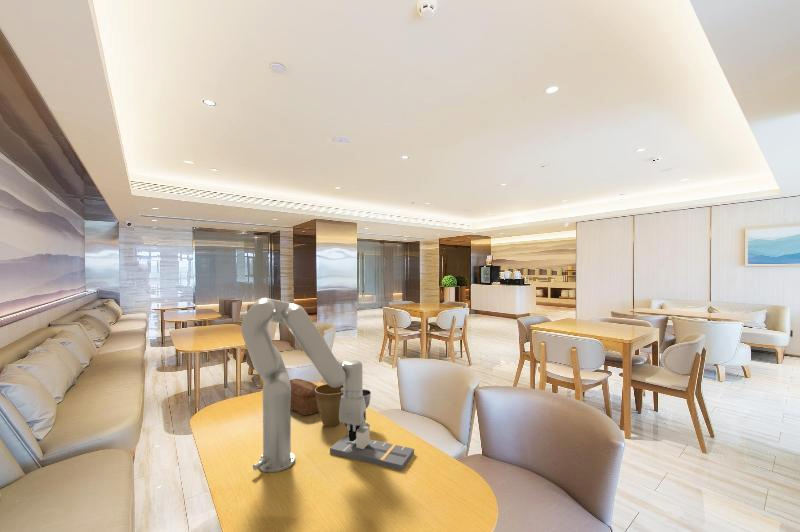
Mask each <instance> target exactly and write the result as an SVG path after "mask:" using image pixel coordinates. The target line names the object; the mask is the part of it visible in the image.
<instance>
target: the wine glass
mask: <svg viewBox="0 0 800 532" xmlns="http://www.w3.org/2000/svg"><path fill="white" fill-rule="evenodd" d="M362 395H363V396H364V399H365V405H366V409H368V407H369V406H370V402H371V395H372V394H371V391H370V390H369V389H364V388H362ZM365 423H366V426H368V427H369V428H370V425H371V424H370V423H368V422H365ZM359 428H360V427H359ZM359 428H358V429H359ZM358 429H357V430H358Z"/></svg>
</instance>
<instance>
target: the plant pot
mask: <svg viewBox="0 0 800 532" xmlns="http://www.w3.org/2000/svg"><path fill="white" fill-rule="evenodd" d="M317 386H318V387H317V388H316V389H315V395H316V401H317V406H318V411H319V412H318V414H319V417H320V420H321V423H322V425H323V426H324V427H326V428H333V427H337V426H339V424H340V423H341V422H340V421H339V407H340V401H341V396H343V392H341V388H343V384H342V385H341V386H340V387H336V388H333V387H330V386H329V385H328V384H327V383H325V384H321V385H317Z"/></svg>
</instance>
